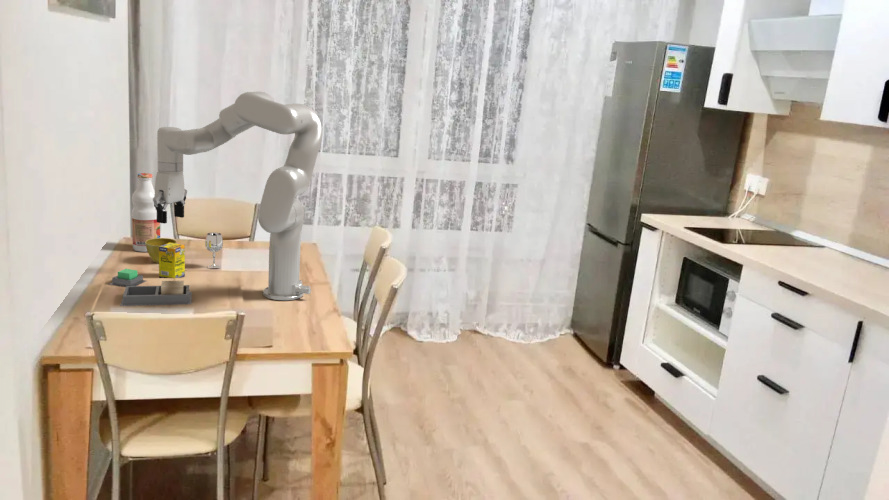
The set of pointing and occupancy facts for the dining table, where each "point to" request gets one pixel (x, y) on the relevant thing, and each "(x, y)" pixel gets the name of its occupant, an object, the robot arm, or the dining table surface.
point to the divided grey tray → (153, 296)
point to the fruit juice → (144, 213)
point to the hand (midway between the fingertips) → (170, 219)
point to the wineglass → (214, 245)
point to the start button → (127, 274)
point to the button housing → (127, 281)
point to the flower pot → (156, 247)
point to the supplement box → (171, 260)
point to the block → (172, 287)
